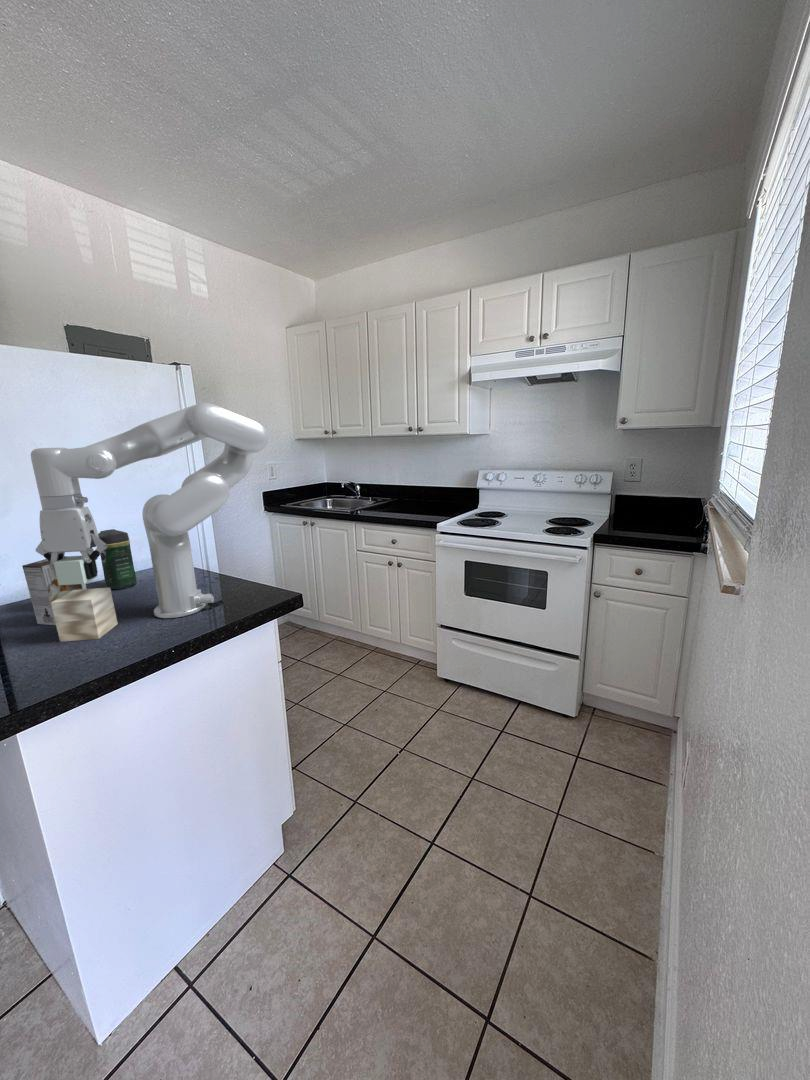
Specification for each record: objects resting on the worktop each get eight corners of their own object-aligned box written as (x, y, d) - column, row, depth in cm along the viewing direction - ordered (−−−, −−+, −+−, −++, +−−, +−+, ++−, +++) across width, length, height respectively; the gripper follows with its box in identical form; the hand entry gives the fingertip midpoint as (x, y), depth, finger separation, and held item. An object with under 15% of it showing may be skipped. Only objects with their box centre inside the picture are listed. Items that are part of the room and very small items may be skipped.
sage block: (97, 576, 105) (93, 554, 104) (84, 583, 100) (79, 561, 99) (73, 577, 105) (69, 556, 103) (58, 585, 99) (53, 562, 98)
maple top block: (113, 606, 109) (110, 587, 108) (95, 619, 100) (91, 599, 99) (77, 608, 108) (73, 590, 106) (55, 622, 99) (50, 602, 98)
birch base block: (117, 624, 110) (114, 606, 109) (99, 639, 102) (94, 619, 100) (82, 627, 109) (78, 608, 108) (60, 642, 101) (55, 622, 99)
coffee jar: (141, 585, 140) (131, 529, 136) (113, 592, 134) (102, 534, 130) (129, 579, 146) (119, 526, 142) (103, 586, 140) (91, 530, 136)
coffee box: (69, 610, 120) (57, 555, 116) (88, 611, 118) (76, 555, 115) (36, 624, 111) (21, 565, 107) (56, 626, 110) (42, 565, 106)
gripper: (111, 499, 102) (124, 571, 107) (33, 502, 101) (50, 575, 105) (92, 503, 95) (107, 581, 99) (8, 507, 93) (27, 585, 98)
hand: (78, 577), depth 102 cm, fingers closed on sage block, 5 cm apart
